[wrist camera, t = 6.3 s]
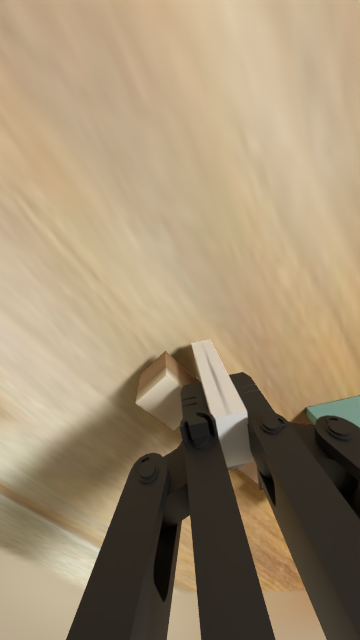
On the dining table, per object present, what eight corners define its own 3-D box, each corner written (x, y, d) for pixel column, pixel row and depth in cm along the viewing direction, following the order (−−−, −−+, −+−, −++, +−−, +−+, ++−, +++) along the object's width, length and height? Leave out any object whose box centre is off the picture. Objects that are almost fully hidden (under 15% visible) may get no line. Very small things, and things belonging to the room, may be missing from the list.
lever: (141, 368, 14) (134, 409, 11) (165, 346, 14) (166, 380, 10) (292, 489, 20) (322, 545, 16) (312, 476, 20) (348, 529, 16)
